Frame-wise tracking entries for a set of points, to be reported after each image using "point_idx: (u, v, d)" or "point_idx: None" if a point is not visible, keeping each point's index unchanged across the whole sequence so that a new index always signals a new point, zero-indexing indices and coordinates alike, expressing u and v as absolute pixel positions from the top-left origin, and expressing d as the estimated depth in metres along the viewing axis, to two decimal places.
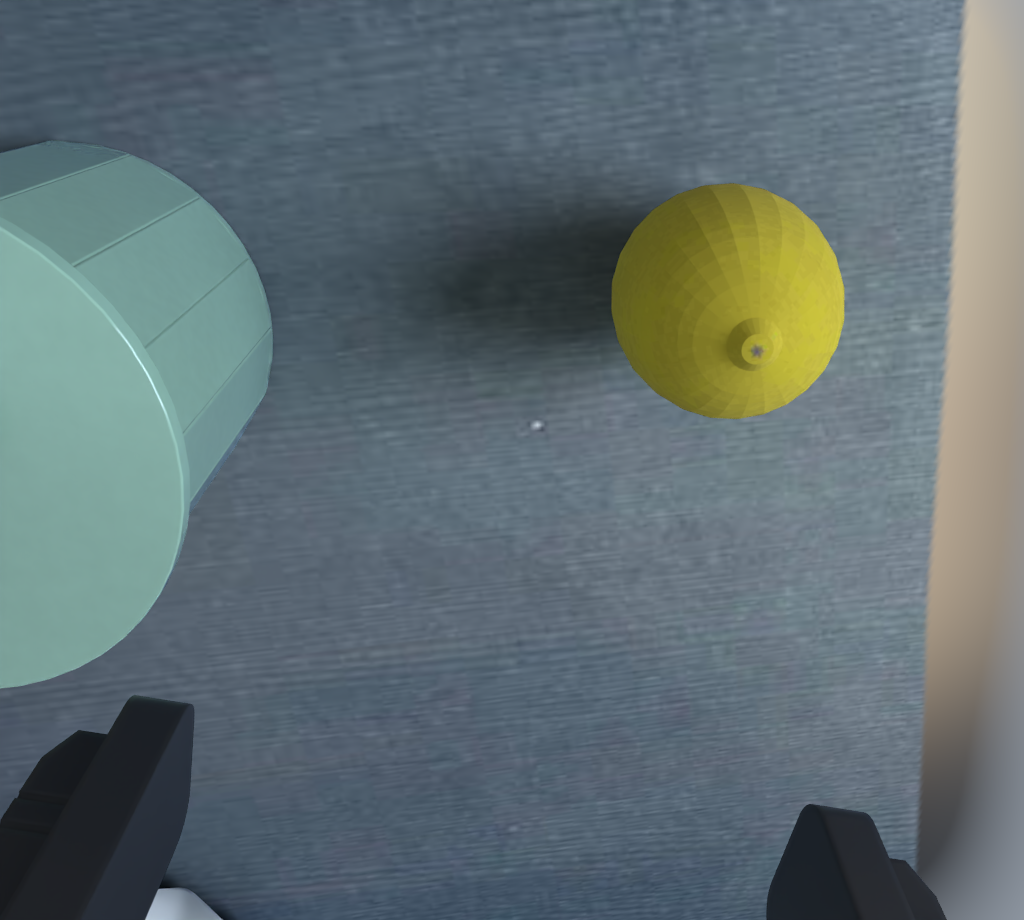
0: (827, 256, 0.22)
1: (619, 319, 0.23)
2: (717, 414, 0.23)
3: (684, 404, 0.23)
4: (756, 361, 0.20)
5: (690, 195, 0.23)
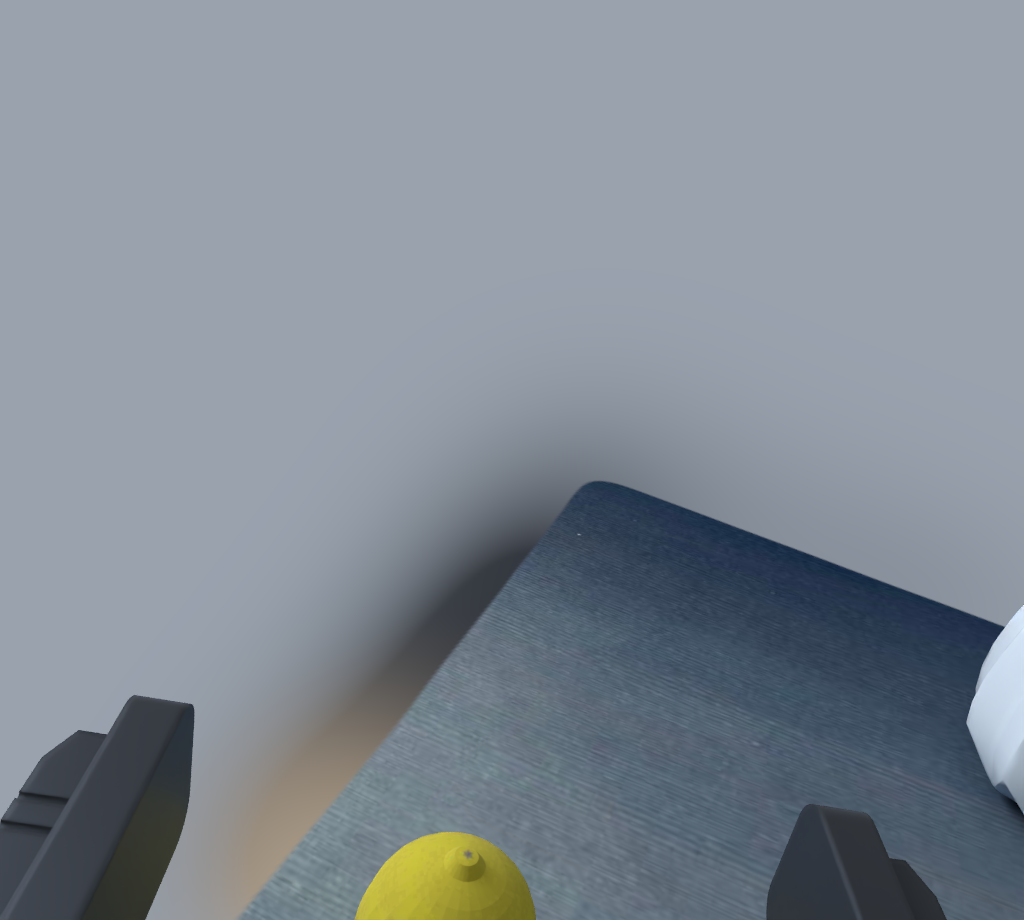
0: (371, 906, 0.27)
1: None
2: None
3: (521, 874, 0.29)
4: (472, 849, 0.27)
5: None
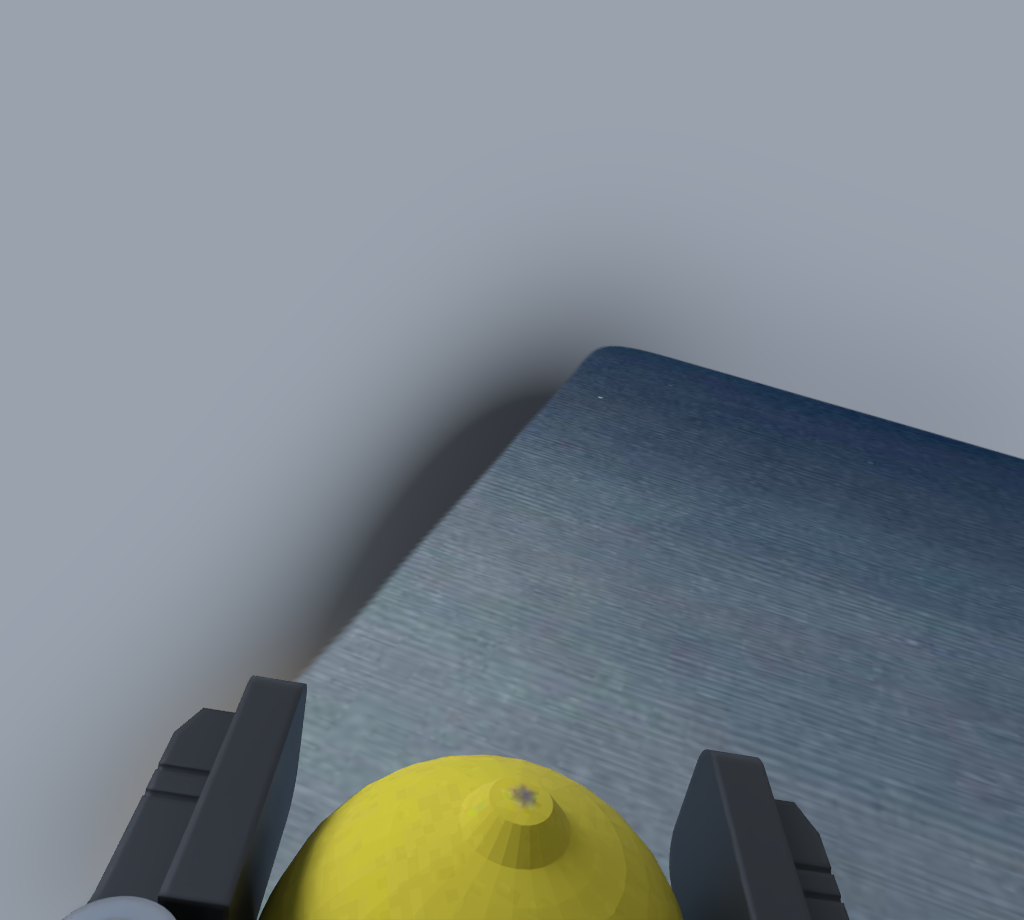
0: None
1: None
2: None
3: None
4: (532, 783, 0.10)
5: None
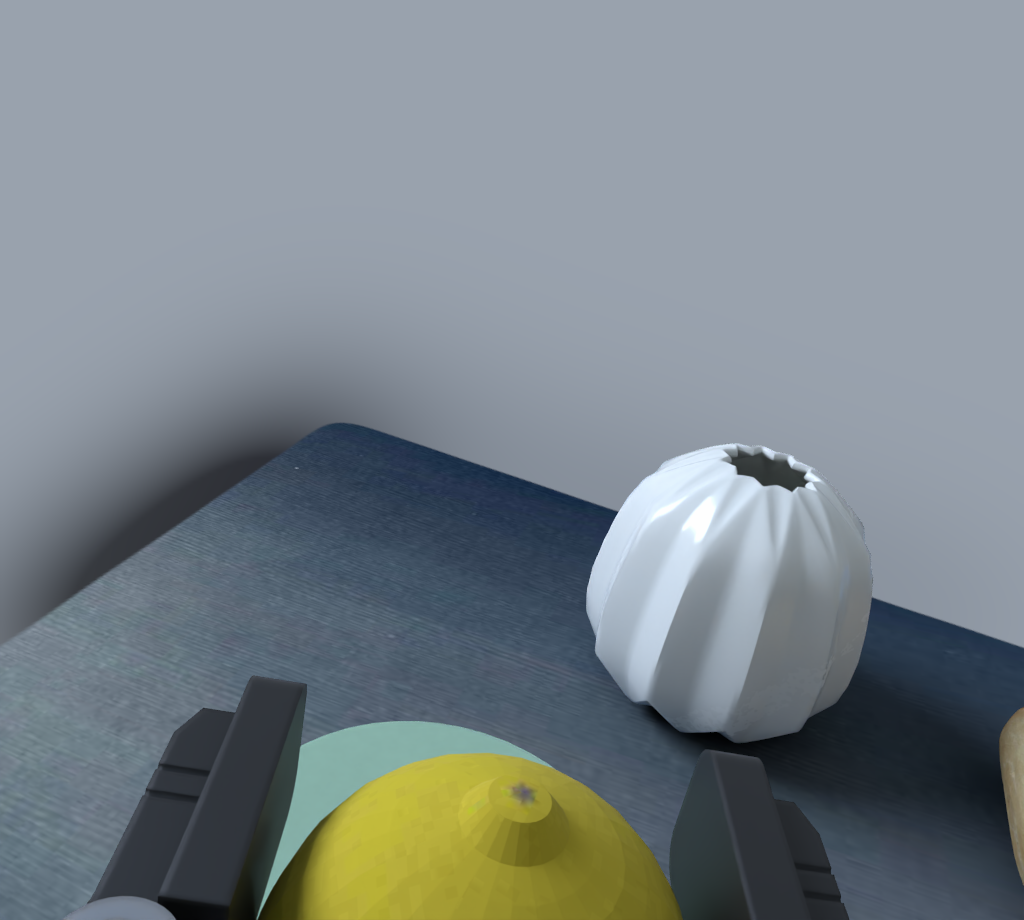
0: None
1: None
2: None
3: None
4: (531, 781, 0.10)
5: None
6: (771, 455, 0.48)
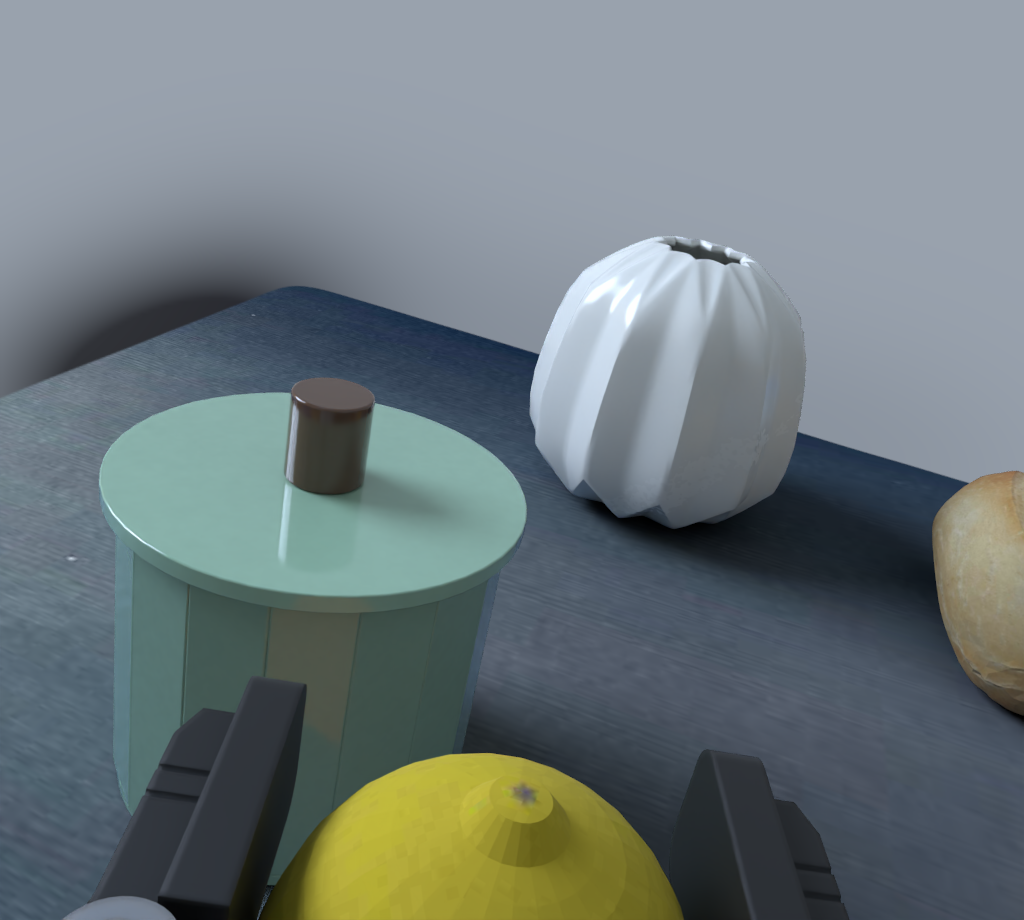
0: None
1: None
2: None
3: None
4: (532, 782, 0.10)
5: None
6: (709, 247, 0.49)
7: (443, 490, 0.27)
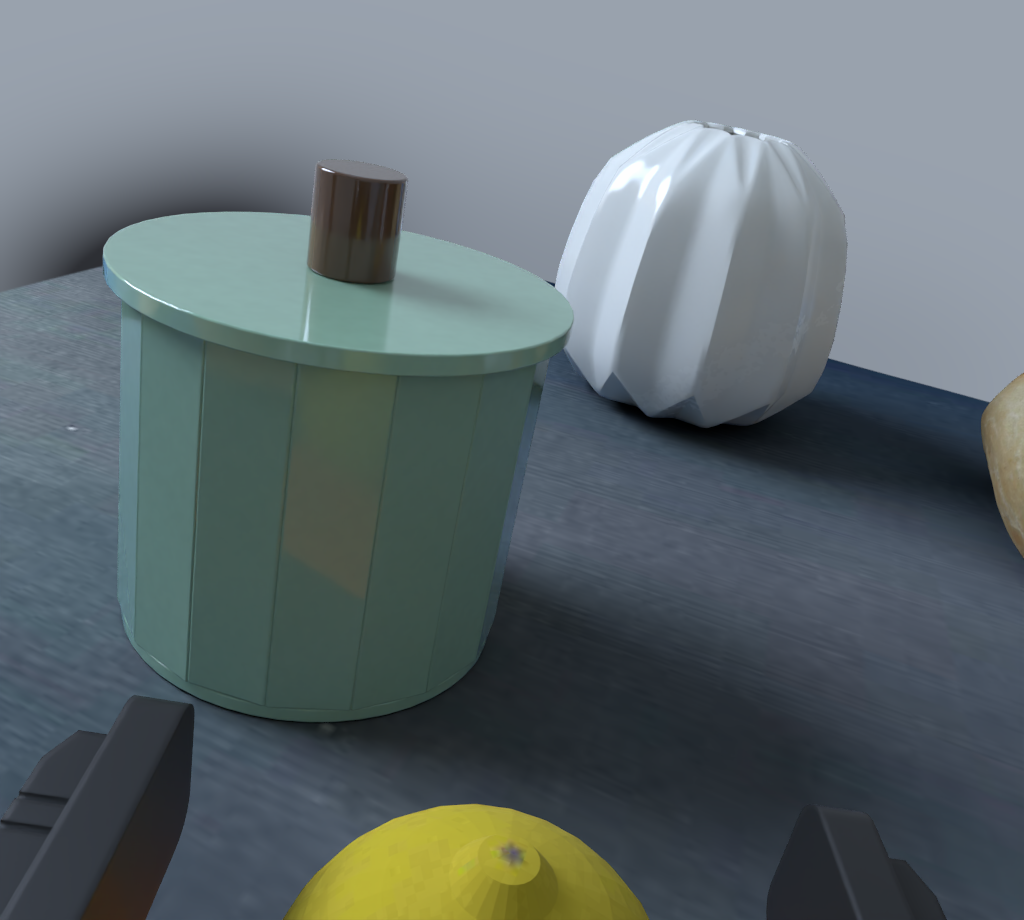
0: None
1: None
2: None
3: None
4: (521, 840, 0.10)
5: None
6: (742, 133, 0.46)
7: (481, 291, 0.25)
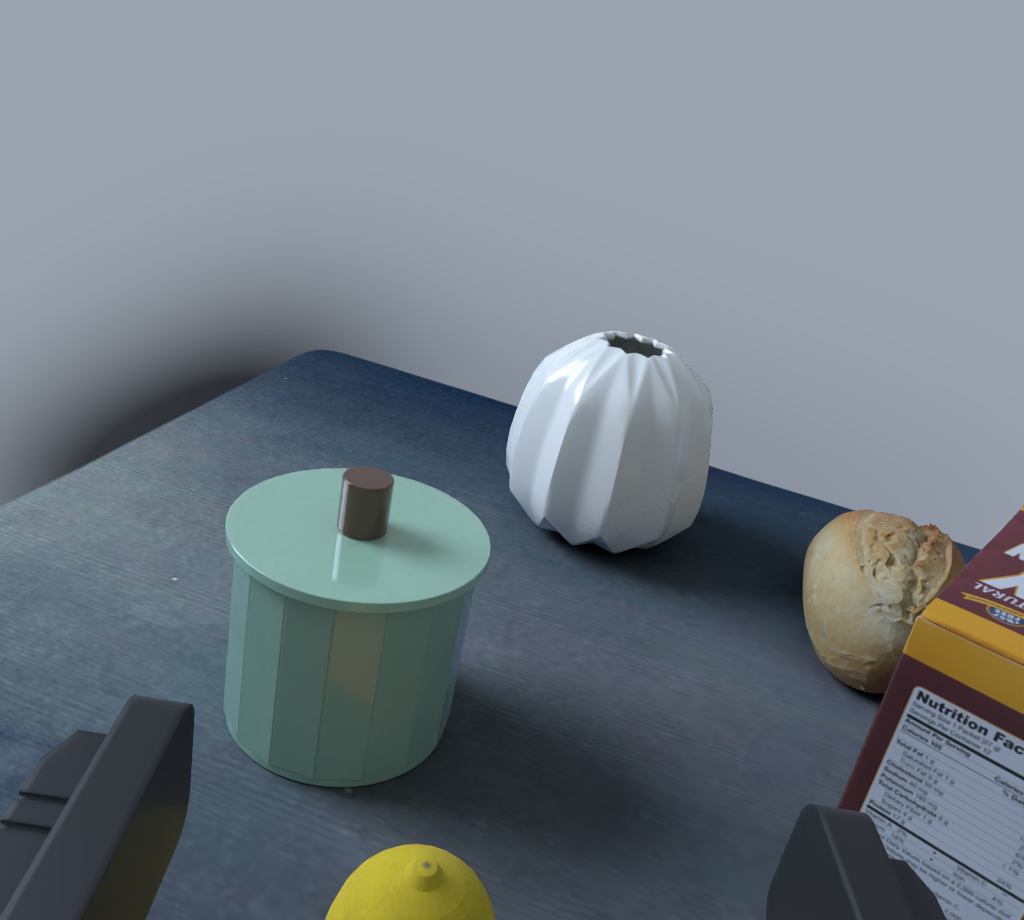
0: None
1: None
2: None
3: None
4: (430, 860, 0.28)
5: None
6: (640, 339, 0.64)
7: (437, 536, 0.42)
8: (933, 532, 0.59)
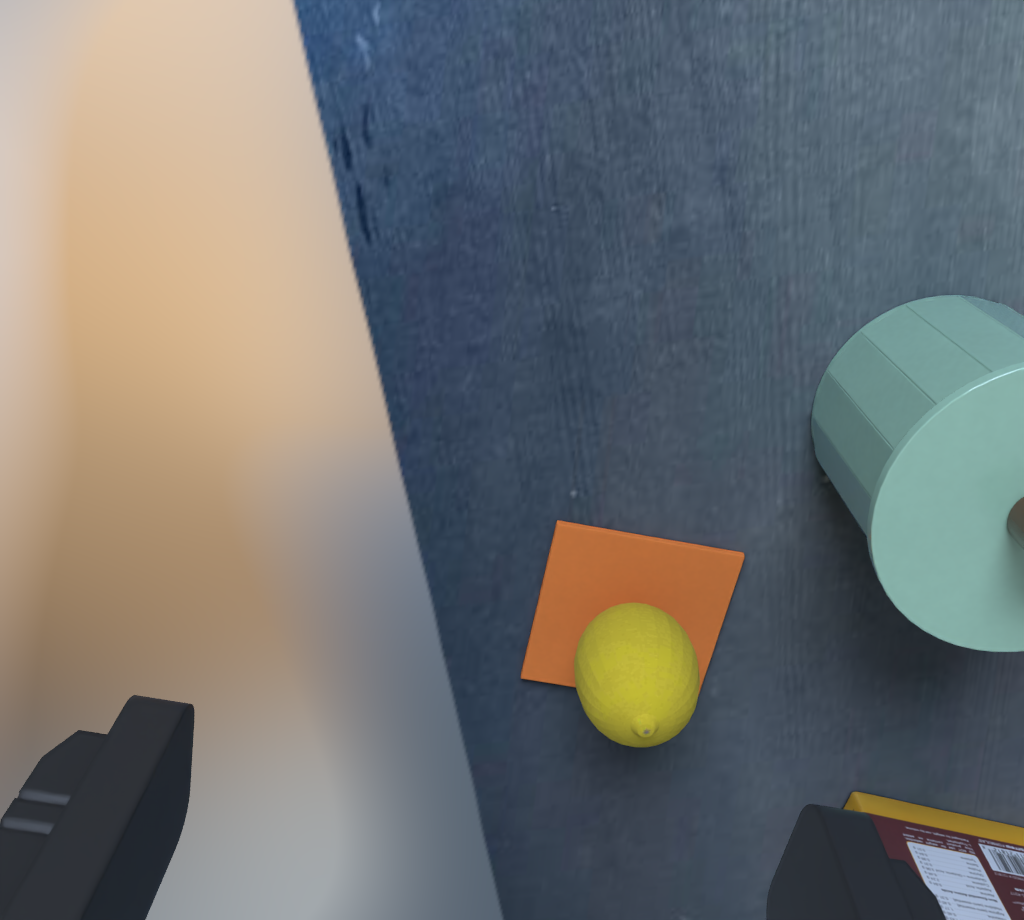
0: (606, 663, 0.41)
1: None
2: (689, 716, 0.41)
3: (684, 726, 0.41)
4: (652, 731, 0.39)
5: None
6: None
7: None
8: None
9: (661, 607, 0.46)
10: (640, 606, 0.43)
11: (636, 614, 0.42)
